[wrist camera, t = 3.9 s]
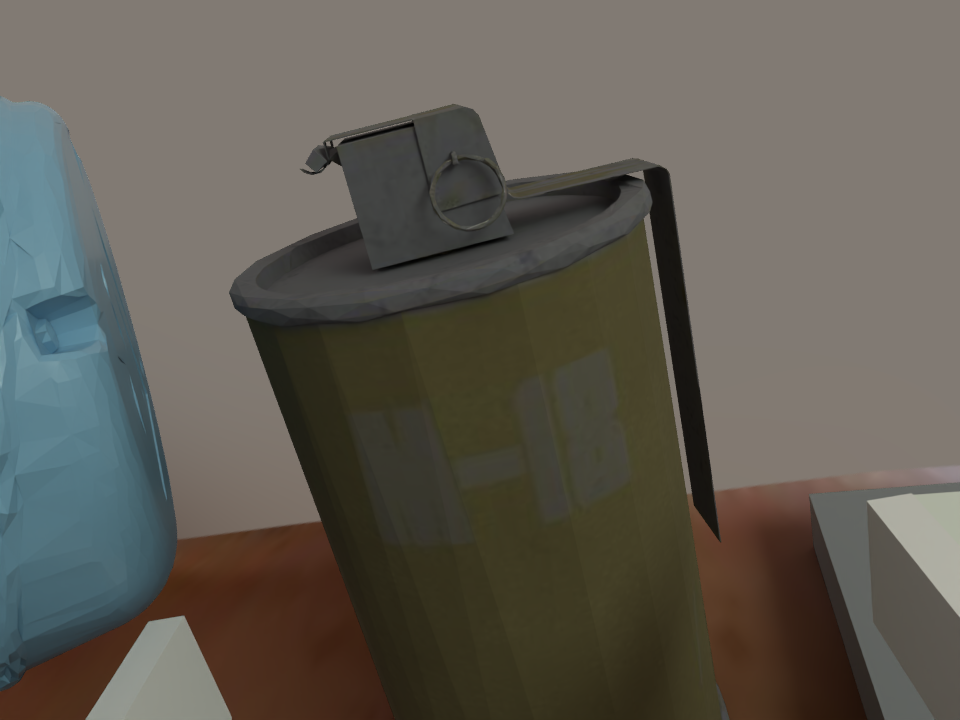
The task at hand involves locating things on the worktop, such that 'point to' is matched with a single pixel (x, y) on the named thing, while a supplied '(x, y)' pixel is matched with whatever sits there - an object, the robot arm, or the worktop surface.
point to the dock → (847, 577)
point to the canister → (498, 427)
